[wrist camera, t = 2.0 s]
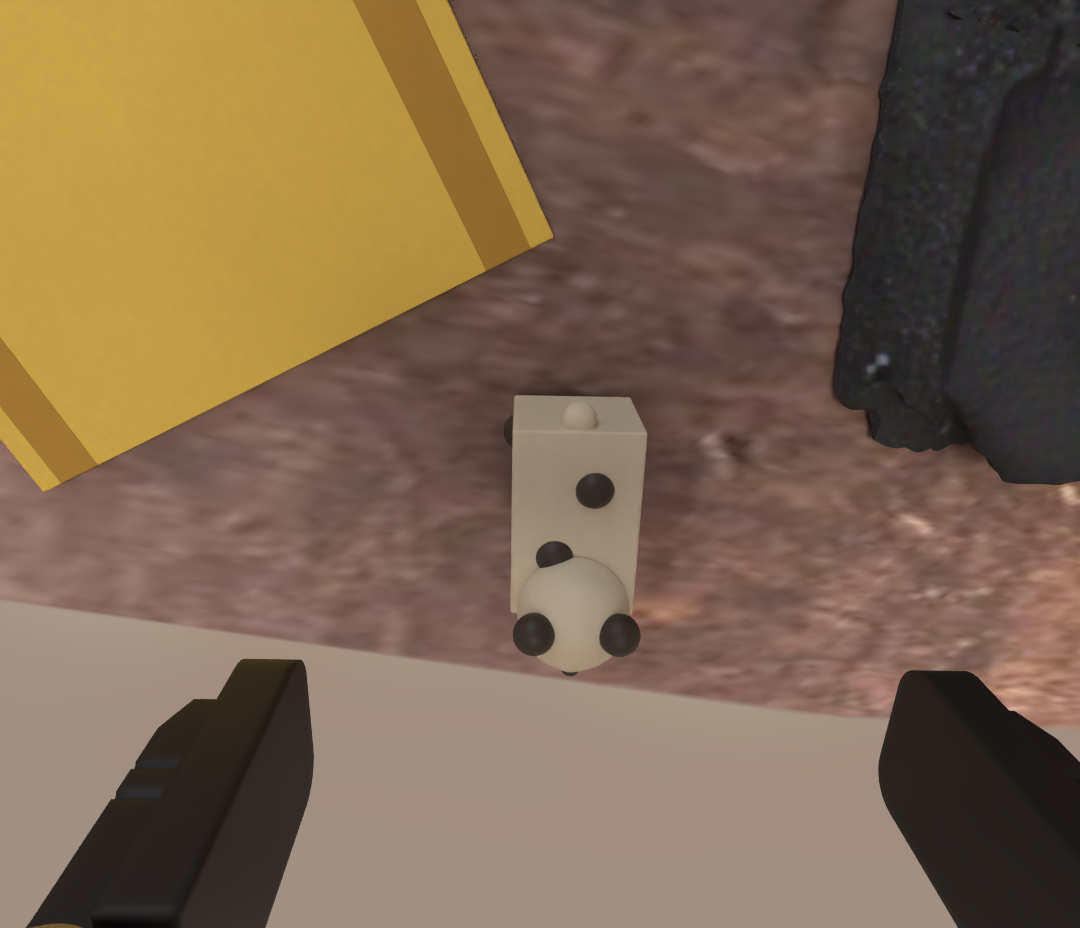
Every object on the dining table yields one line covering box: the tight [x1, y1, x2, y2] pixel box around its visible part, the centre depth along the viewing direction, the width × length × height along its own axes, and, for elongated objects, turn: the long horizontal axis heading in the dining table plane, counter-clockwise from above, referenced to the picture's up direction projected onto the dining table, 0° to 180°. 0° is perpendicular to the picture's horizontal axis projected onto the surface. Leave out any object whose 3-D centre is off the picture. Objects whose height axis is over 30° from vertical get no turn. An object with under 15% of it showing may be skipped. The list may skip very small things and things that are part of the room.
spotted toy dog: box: [504, 395, 648, 676], centre depth 23 cm, size 9×4×8 cm, turn 179°
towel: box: [0, 0, 554, 492], centre depth 22 cm, size 20×15×1 cm
